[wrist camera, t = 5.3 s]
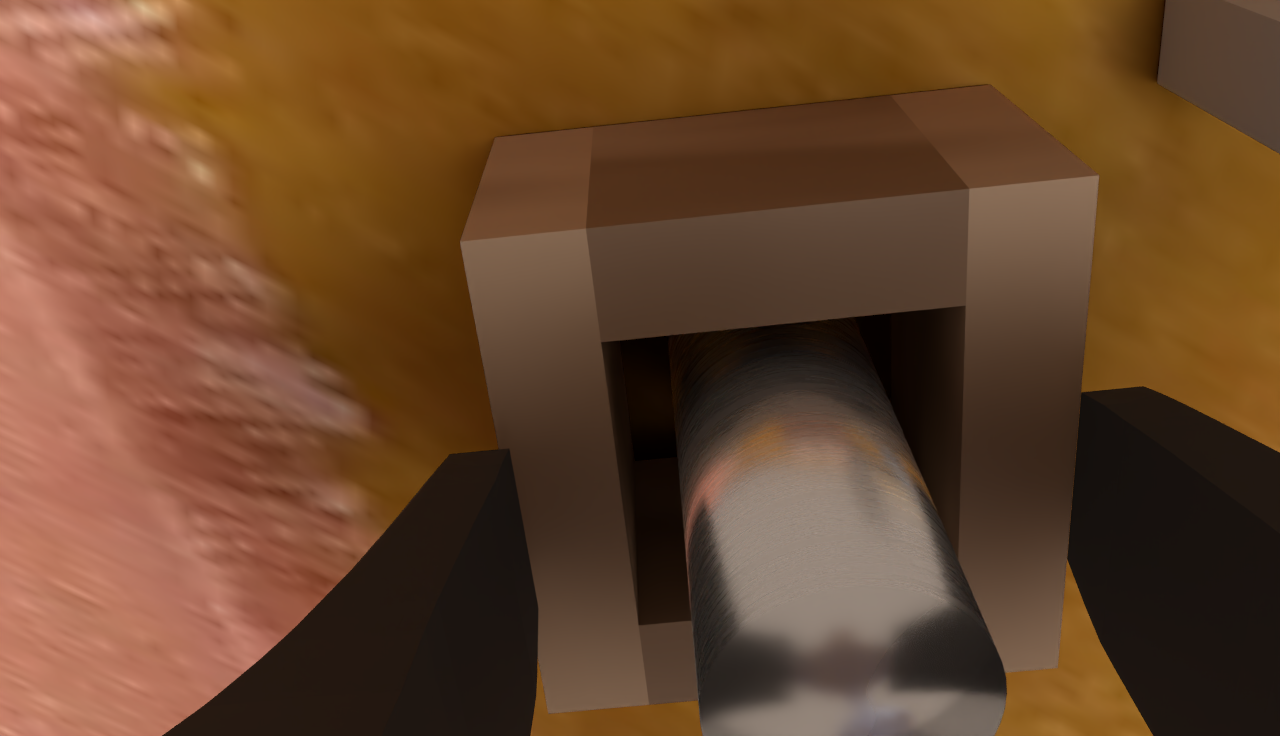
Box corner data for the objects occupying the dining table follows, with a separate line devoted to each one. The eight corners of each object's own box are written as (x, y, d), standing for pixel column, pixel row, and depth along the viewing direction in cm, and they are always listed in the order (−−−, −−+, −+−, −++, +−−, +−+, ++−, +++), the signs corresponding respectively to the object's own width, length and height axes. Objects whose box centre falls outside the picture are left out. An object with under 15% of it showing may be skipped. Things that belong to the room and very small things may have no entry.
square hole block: (974, 499, 17) (1057, 668, 13) (561, 538, 17) (548, 713, 14) (991, 84, 14) (1099, 175, 11) (495, 137, 14) (459, 241, 11)
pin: (850, 395, 16) (1001, 803, 9) (675, 413, 16) (713, 828, 10) (844, 231, 15) (1011, 568, 8) (657, 251, 15) (685, 603, 8)
